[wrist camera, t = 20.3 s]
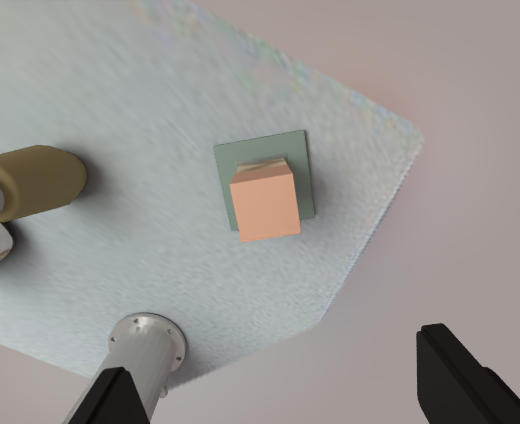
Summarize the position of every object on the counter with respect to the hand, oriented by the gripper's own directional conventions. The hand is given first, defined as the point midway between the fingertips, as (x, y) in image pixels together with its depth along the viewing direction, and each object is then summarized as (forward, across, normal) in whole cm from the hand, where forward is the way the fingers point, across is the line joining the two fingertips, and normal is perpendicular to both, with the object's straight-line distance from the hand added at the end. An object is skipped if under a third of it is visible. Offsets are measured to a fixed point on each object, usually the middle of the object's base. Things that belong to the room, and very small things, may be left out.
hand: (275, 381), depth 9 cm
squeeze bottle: (+32, +27, -6) cm, 43 cm away
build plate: (+32, 0, 0) cm, 32 cm away
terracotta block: (+25, 0, 0) cm, 25 cm away
